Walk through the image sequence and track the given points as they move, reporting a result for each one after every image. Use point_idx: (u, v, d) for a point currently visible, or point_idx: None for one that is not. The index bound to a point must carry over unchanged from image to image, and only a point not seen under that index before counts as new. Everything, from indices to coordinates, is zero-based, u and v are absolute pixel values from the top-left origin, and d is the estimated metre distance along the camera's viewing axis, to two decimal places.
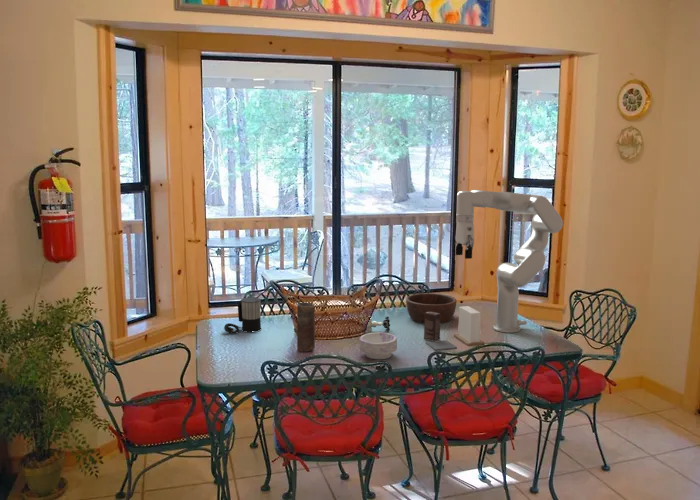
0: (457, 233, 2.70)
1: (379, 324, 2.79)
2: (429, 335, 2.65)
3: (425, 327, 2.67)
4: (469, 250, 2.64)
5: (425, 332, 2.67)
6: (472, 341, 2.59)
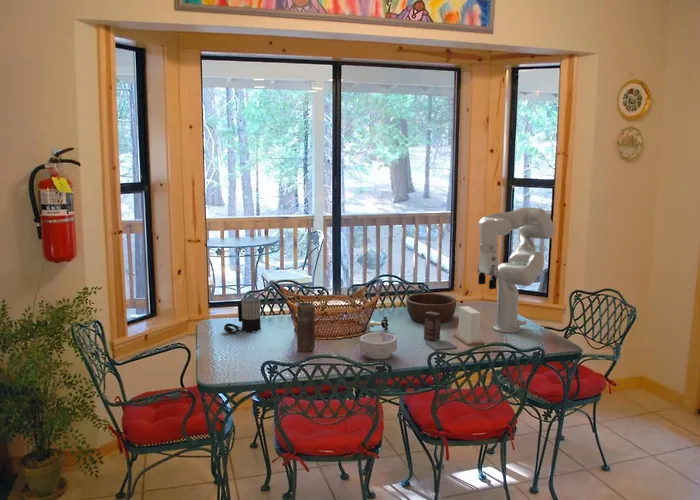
0: (480, 262, 2.64)
1: (377, 324, 2.79)
2: (429, 335, 2.65)
3: (425, 327, 2.67)
4: (493, 280, 2.58)
5: (425, 332, 2.67)
6: (472, 341, 2.59)
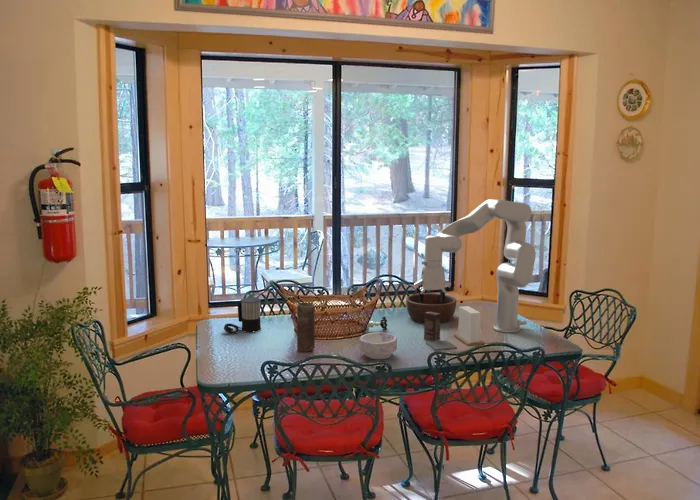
0: None
1: (376, 324, 2.80)
2: (429, 335, 2.65)
3: (425, 327, 2.67)
4: (419, 294, 2.63)
5: (425, 332, 2.67)
6: (472, 341, 2.59)
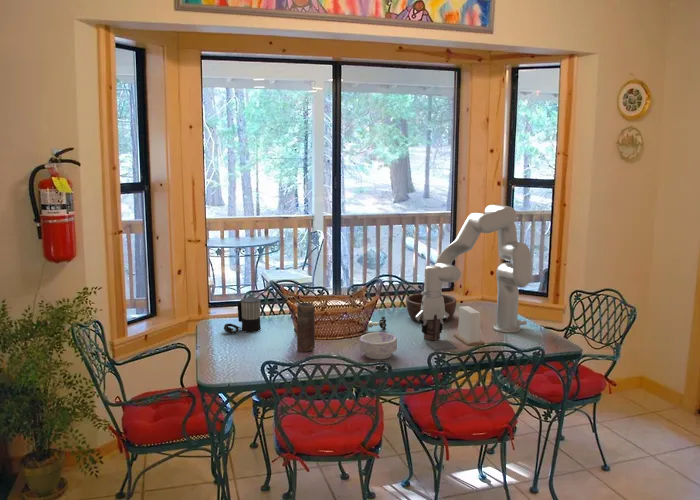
0: None
1: (375, 324, 2.80)
2: (429, 335, 2.65)
3: None
4: (422, 325, 2.65)
5: None
6: (472, 341, 2.59)
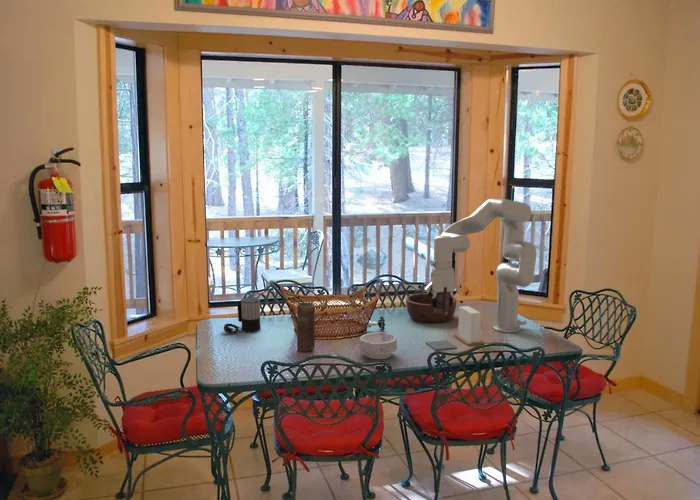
0: None
1: (374, 324, 2.80)
2: (439, 308, 2.54)
3: None
4: (431, 298, 2.54)
5: None
6: (472, 341, 2.59)
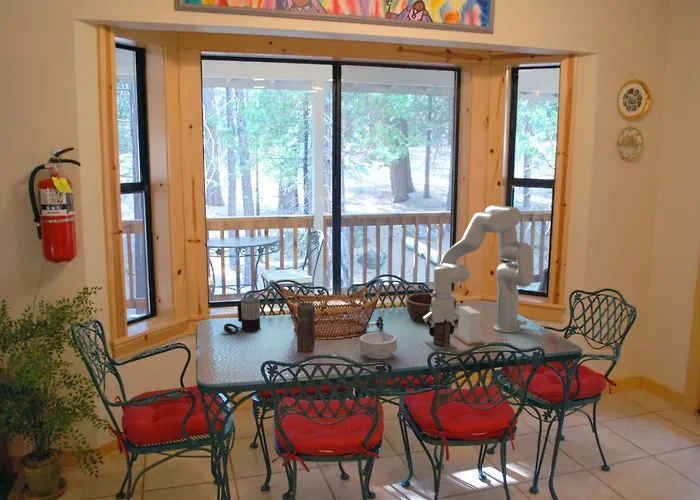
0: None
1: (372, 324, 2.80)
2: (439, 340, 2.56)
3: (435, 332, 2.57)
4: (429, 327, 2.55)
5: (435, 337, 2.57)
6: (472, 341, 2.59)
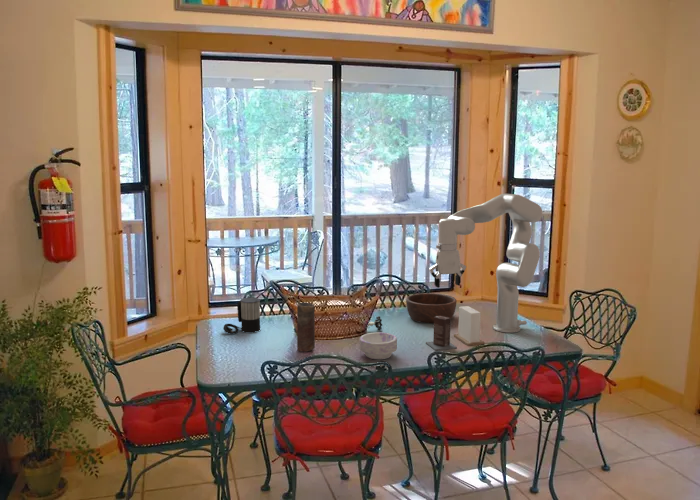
0: None
1: (371, 324, 2.80)
2: (439, 340, 2.56)
3: (435, 332, 2.57)
4: (435, 278, 2.59)
5: (435, 337, 2.57)
6: (472, 341, 2.59)
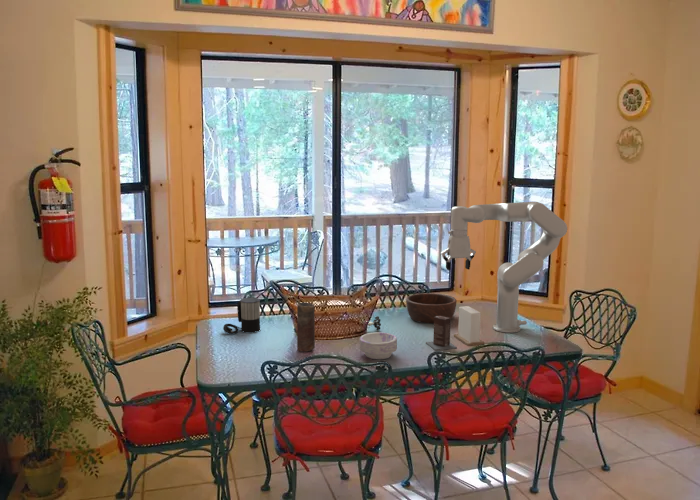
0: None
1: (370, 324, 2.80)
2: (439, 340, 2.56)
3: (435, 332, 2.57)
4: (446, 262, 2.78)
5: (435, 337, 2.57)
6: (472, 341, 2.59)
